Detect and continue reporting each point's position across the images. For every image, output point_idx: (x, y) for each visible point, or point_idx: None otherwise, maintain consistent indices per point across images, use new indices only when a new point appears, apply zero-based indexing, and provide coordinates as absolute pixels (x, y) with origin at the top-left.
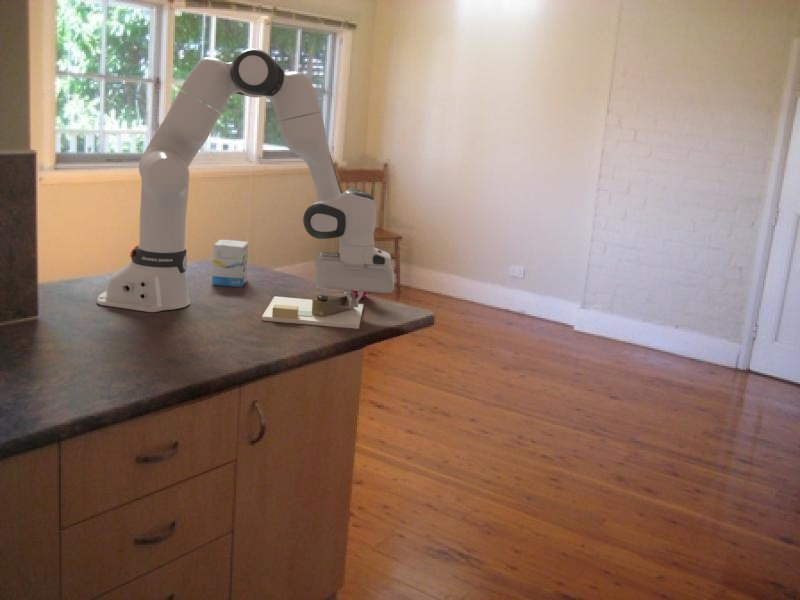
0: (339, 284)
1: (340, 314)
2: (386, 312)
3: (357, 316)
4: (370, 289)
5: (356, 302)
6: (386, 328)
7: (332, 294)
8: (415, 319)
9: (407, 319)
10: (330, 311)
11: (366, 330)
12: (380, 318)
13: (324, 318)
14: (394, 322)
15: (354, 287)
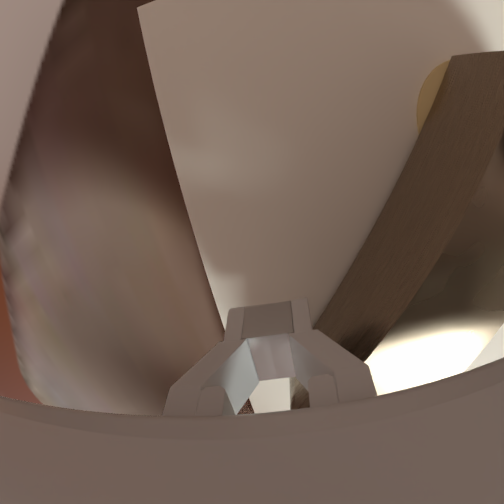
0: (486, 419)
1: (350, 205)
2: (145, 394)
3: (214, 214)
4: (62, 423)
5: (240, 330)
6: (22, 138)
7: (468, 354)
8: (20, 341)
9: (35, 332)
10: (430, 136)
11: (96, 19)
12: (118, 306)
13: (432, 47)
14: (40, 268)
15: (253, 445)
